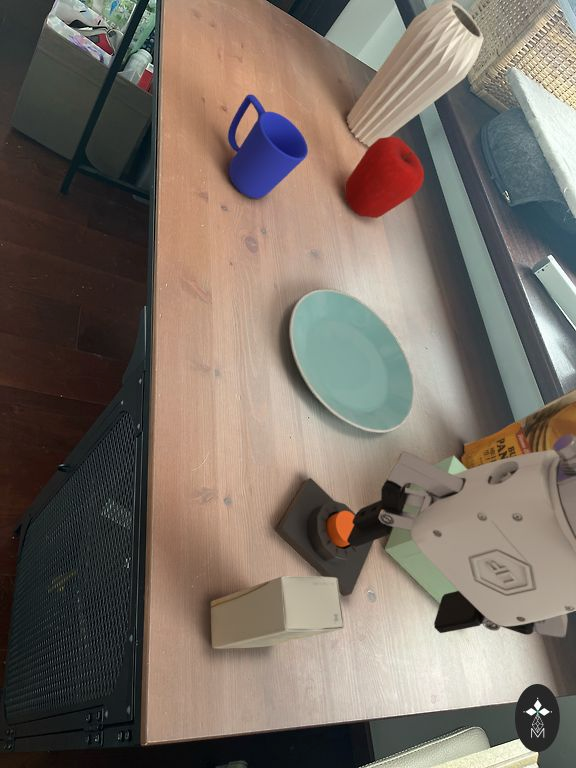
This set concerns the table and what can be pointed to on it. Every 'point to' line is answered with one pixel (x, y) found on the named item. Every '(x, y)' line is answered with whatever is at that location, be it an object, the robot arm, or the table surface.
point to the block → (321, 536)
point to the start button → (340, 527)
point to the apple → (384, 178)
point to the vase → (417, 71)
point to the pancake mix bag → (525, 434)
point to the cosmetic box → (277, 612)
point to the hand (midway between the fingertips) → (398, 572)
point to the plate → (351, 361)
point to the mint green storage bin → (412, 557)
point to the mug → (264, 151)
